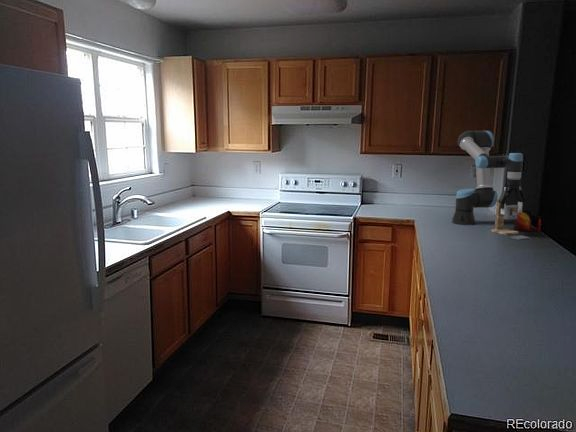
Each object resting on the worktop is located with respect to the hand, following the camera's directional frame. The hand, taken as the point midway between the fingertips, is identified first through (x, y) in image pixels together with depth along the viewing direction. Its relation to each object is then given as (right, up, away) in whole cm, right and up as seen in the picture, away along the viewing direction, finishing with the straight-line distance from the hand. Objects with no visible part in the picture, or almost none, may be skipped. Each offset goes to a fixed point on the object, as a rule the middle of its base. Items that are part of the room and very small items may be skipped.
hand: (511, 213), depth 264 cm
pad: (0, -15, -9) cm, 17 cm away
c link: (0, -3, +1) cm, 3 cm away
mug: (+16, -11, +12) cm, 23 cm away
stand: (-1, -12, +5) cm, 13 cm away
